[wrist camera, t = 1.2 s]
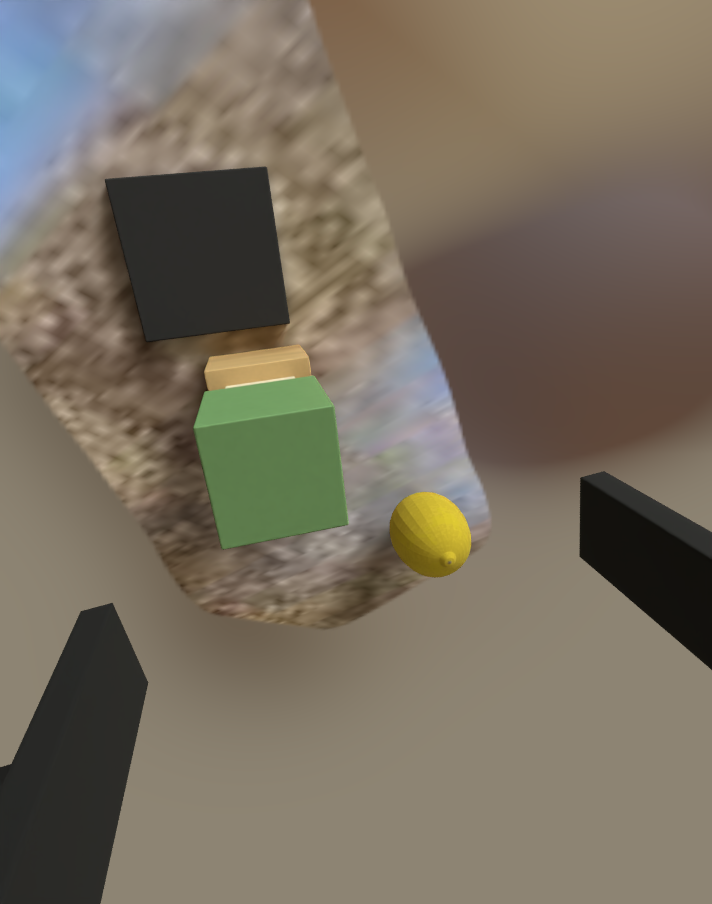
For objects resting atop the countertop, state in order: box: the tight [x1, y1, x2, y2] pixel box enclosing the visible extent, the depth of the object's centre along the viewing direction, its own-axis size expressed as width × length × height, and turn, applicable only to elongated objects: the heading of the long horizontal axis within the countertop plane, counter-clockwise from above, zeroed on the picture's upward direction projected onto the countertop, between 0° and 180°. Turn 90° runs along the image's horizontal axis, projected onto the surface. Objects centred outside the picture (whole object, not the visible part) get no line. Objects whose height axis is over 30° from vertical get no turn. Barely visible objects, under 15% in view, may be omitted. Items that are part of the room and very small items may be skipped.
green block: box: [193, 376, 349, 550], centre depth 23 cm, size 6×6×6 cm
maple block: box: [204, 345, 311, 391], centre depth 32 cm, size 6×6×5 cm
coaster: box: [105, 167, 290, 342], centre depth 30 cm, size 9×9×1 cm
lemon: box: [390, 492, 471, 577], centre depth 36 cm, size 6×6×8 cm
